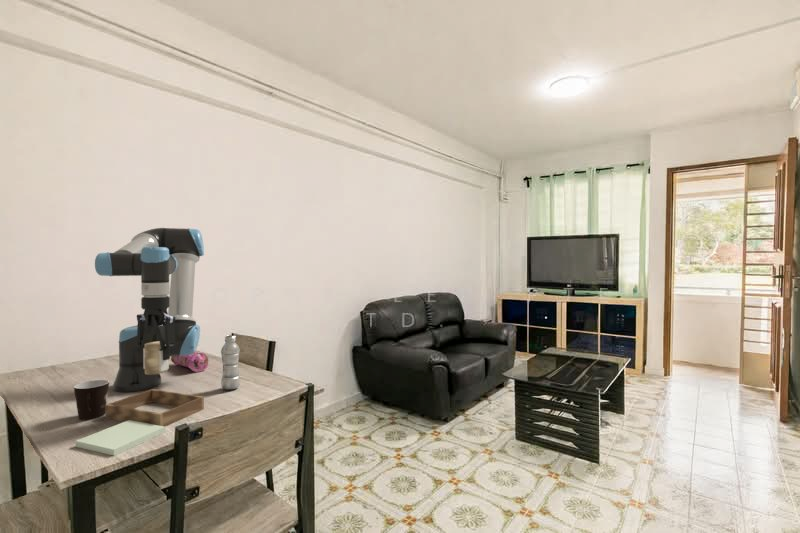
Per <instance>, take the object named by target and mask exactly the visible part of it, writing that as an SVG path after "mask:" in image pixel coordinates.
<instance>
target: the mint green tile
mask: <svg viewBox="0 0 800 533" xmlns="http://www.w3.org/2000/svg"><path fill="white" fill-rule="evenodd" d="M165 432H166V426H165V427H164V426H158V425H153V424H148V423H143V422H137V421H132V420H128V421H125V422H123V421H122V422H120V423H118V424H116V425H113V426H110V427H108V428H105V429H103V430H100V431H97V432H95V433H92V434H90V435H87V436H84V437H82V438H80V439H77V440H75V447H76V448H80V449H85V450H89V451H93V452H97V453H101V454H105V455H110V456H117V455H119V454H121V453H122V452H125V451H128V450H129V449H132V448H135V447H136V446H138V445H140V444H142V443H144V442H147V441H149V440H151V439H153V438H155V437H157V436H160V435H162V434H164V433H165Z"/></svg>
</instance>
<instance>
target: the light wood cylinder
mask: <svg viewBox="0 0 800 533" xmlns="http://www.w3.org/2000/svg"><path fill="white" fill-rule="evenodd" d="M165 346H166V345H165ZM159 349H161V345H160V341H158V342H150V343H146V344H145V374H147V375H154V374H160V375H161V374H163V373H166V372H168V369H167V370H164V371H159Z"/></svg>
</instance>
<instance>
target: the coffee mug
mask: <svg viewBox="0 0 800 533" xmlns="http://www.w3.org/2000/svg"><path fill="white" fill-rule="evenodd" d="M109 386H110V380H108V379H93V380H89V381H88V380H87V381H83V382H79V383H76V384H75V385H74V386H73V391H74V396H75V404H76V410H77V411H76V412H77V415H78V416H77V417H78V420H79V421H91V420H96V419H99V418H102V417H104V416H105V405H107V404H108V403H107V402H108V396H109Z"/></svg>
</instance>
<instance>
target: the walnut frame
mask: <svg viewBox="0 0 800 533" xmlns="http://www.w3.org/2000/svg"><path fill="white" fill-rule="evenodd" d="M152 402H153V403H157V404H164V405H171V406H176V407H173V408H170V409H168V410H166V411H163V412H154V411H148V410H144V409H138V408H139V407H142V406H144V405H147V404H150V403H152ZM204 409H205V397H204V396H201V395H195V394H194V395H193V394H187V393H181V392H175V391H168V390H161V389H155V388H150V389H147V390H145V391H143V392H140V393H136V394H135V395H131V396H128V397H125V398H122V399H119V400H115V401H113V402H110V403H106V405H105V415H104V416H105V419H108V420H113V421H120V422H122V423H123V422H125V421H128V420H132V421H137V422H143V423H148V424H153V425H158V426H164V427H165V428H166V427H168V426H169V425H172V424H174V423H176V422H178V421H180V420H183V419H184V418H188V417H189V416H193V415H194V414H196V413H198V412H200V411H202V410H204Z"/></svg>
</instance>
